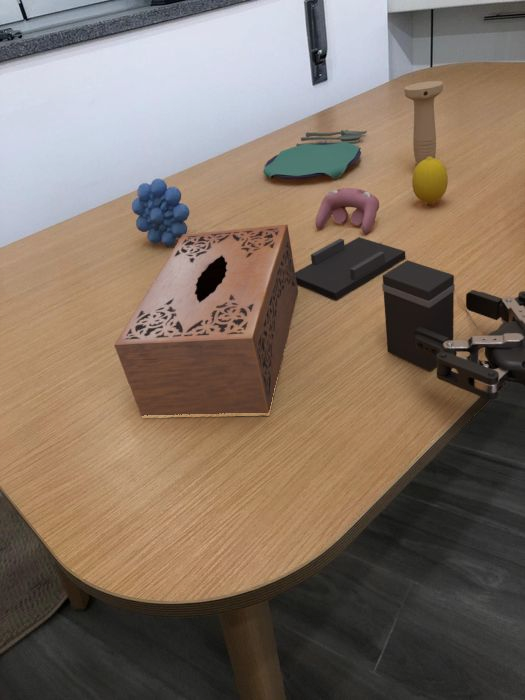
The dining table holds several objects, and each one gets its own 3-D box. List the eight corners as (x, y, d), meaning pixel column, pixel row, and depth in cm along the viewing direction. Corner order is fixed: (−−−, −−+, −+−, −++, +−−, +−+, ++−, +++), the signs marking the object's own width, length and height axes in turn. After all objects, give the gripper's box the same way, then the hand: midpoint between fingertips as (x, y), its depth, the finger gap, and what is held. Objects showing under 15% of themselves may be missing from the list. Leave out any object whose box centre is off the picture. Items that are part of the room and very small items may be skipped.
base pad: (359, 243, 92) (358, 227, 90) (405, 258, 86) (405, 241, 84) (291, 282, 86) (288, 265, 84) (336, 300, 79) (333, 283, 78)
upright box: (410, 335, 70) (407, 259, 65) (454, 354, 66) (455, 274, 60) (386, 352, 68) (381, 275, 63) (430, 372, 64) (428, 292, 59)
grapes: (210, 236, 104) (194, 169, 97) (189, 254, 99) (171, 185, 93) (157, 233, 109) (138, 169, 103) (135, 250, 105) (114, 184, 98)
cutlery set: (251, 187, 121) (248, 176, 119) (300, 138, 142) (298, 129, 141) (346, 185, 113) (345, 173, 111) (383, 134, 134) (382, 123, 133)
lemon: (415, 198, 102) (414, 152, 98) (449, 197, 100) (449, 149, 96) (410, 212, 98) (409, 164, 94) (446, 211, 96) (446, 162, 92)
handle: (406, 168, 115) (402, 85, 106) (440, 163, 114) (440, 79, 105) (409, 177, 111) (406, 91, 102) (445, 172, 110) (445, 85, 101)
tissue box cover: (199, 297, 87) (182, 234, 81) (298, 291, 83) (287, 224, 78) (142, 418, 66) (114, 345, 61) (269, 416, 63) (252, 338, 57)
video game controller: (378, 235, 97) (384, 190, 95) (367, 234, 93) (372, 188, 91) (325, 230, 102) (329, 187, 100) (311, 229, 98) (316, 184, 97)
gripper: (651, 303, 52) (484, 256, 63) (561, 385, 45) (394, 317, 57) (635, 371, 56) (482, 316, 67) (551, 456, 49) (397, 379, 61)
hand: (442, 317), depth 62 cm, fingers open, 8 cm apart
